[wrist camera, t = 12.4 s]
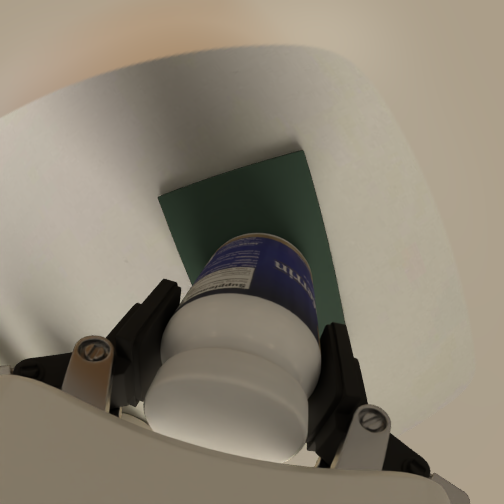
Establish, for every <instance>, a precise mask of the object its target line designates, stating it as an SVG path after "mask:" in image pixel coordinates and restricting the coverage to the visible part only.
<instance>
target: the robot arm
mask: <svg viewBox="0 0 504 504" xmlns="http://www.w3.org/2000/svg"><path fill="white" fill-rule="evenodd" d="M180 296H181V287H178V286H177V282H174V281H170V280H167V279H163V280H162V281H161V282H160V283H159V284H158V285H157V287H156V288H155V289H154V290H153V291H152V292H151V294H150V295H149V296H148V297H147V298H146V299H145V301H144V302H143V303H142V304H139V303H136V304H135V305H134V306H133V307H132V308H131V309H130V310H129V311H128V312H127V314H126V315H125V316H124V317H123V318H122V319H121V321H120V322H119V323H118V324H117V325H116V326H115V327H114V329H113V330H112V331H111V332H110V333H109V335H108V336H107V337H106V338H104V337H101V336H93V335H91V336H86V337H84V338H82V339H80V340H79V341H78V342H77V343H76V344H75V346H74V349H73V352H71V353H65V354H58V355H51V356H44V357H36V358H29V359H25V360H22V361H21V362H19V363H18V364H17V365H16V366H15V368H11V365H5V366H0V504H470V499H469V497H468V495H467V494H466V493H465V492H464V491H462V490H461V489H459V488H457V487H456V486H454V485H453V484H451V483H450V482H448V481H447V480H445V479H444V478H442V477H441V476H439V475H438V474H436V473H433V474H430V467H429V465H428V463H427V462H426V461H425V460H424V459H423V458H422V457H421V456H420V455H418V454H417V453H415V452H414V451H413V450H412V449H410V448H409V447H408V446H406V445H405V444H404V443H402V442H401V441H400V440H399V439H397V438H396V437H395V436H393V435H392V434H391V433H390V429H391V420H390V418H389V416H388V414H387V413H386V412H385V411H384V410H383V409H381V408H379V407H378V406H375V405H371V404H368V402H367V397H366V392H365V388H364V383H363V379H362V374H361V370H360V365H359V362H358V359H356V358H354V357H353V353H352V348H351V344H350V340H349V335H348V331H347V327H346V325H345V324H341V323H336V322H332V323H331V324H330V325H328V324H327V325H326V326H325V328H324V330H323V333H322V335H321V337H320V348H321V372H320V377H319V380H318V383H317V385H316V387H315V389H314V391H313V393H312V394H311V395H310V397H309V398H308V399H307V400H308V434H307V439H306V442H305V443H307V450H308V451H315V453H316V454H317V455H318V456H319V458H318V460H317V462H316V464H315V466H314V467H306V466H297V465H289V464H282V463H275V462H269V461H263V460H257V459H252V458H247V457H242V456H237V455H233V454H228V453H224V452H220V451H216V450H212V449H208V448H205V447H201V446H197V445H194V444H191V443H187V442H184V441H181V440H178V439H174V438H171V437H168V436H165V435H162V434H160V433H157V432H154V431H151V430H149V429H146V428H143V427H141V426H138V425H136V424H133V423H131V422H128V421H126V420H123V419H121V415H122V407H123V406H127V405H128V404H129V405H132V406H134V407H136V406H137V404H138V402H139V400H140V401H142V402H143V401H144V399H145V396H146V393H147V391H148V390H149V388H150V386H151V384H152V382H153V380H154V378H155V376H156V374H157V372H158V370H159V369H160V367H161V366H162V361H161V354H160V348H161V340H162V336H163V333H164V330H165V328H166V326H167V324H168V322H169V320H170V319H171V317H172V315H173V314H174V312H175V311H176V309H177V308H178V306H179V305H180Z"/></svg>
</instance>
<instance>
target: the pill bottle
mask: <svg viewBox="0 0 504 504" xmlns="http://www.w3.org/2000/svg"><path fill="white" fill-rule="evenodd" d="M160 354H161V361H162V366H161V367H160V369H159V370H158V372H157V374H156V376H155V378H154V380H153V382H152V384H151V386H150V388H149V390H148V391H147V393H146V396H145V399H144V404H143V405H144V414H145V417H146V420H147V422H148V424H149V425H150V427H151V428H152V430H153V431H154V432H157V433H160V434H162V435H165V436H168V437H171V438H174V439H178V440H181V441H184V442H187V443H191V444H194V445H197V446H201V447H205V448H208V449H212V450H216V451H220V452H224V453H228V454H233V455H237V456H242V457H247V458H252V459H257V460H263V461H269V462H275V463H283V462H285V461H288V460H289V459H291V458H292V457H294V456H295V455H296V454H297V453H298V452H299V451H300V450H301V449H302V447H303V446H304V444H305V442H306V439H307V434H308V400H307V399H308V398H309V397H310V395H311V394H312V393H313V391H314V389H315V387H316V385H317V383H318V380H319V377H320V372H321V348H320V339H319V329H318V320H317V312H316V303H315V295H314V287H313V280H312V275H311V270H310V267H309V265H308V263H307V261H306V259H305V258H304V256H303V255H302V254H301V252H300V251H299V250H298V249H297V248H296V247H295V246H293V245H292V244H291V243H289V242H288V241H286V240H285V239H283V238H280V237H278V236H275V235H271V234H266V233H249V234H243V235H240V236H237V237H235V238H233V239H231V240H229V241H227V242H226V243H225V244H223V245H222V246H221V247H220V248H219V249H218V250H217V251H216V252H215V253H214V255H213V256H212V257H211V259H210V260H209V262H208V263H207V264H206V266H205V267H204V269H203V270H202V272H201V273H200V275H199V276H198V278H197V279H196V281H195V282H194V284H193V285H192V287H191V288H190V290H189V291H188V293H187V294H186V296H185V297H184V299H183V300H182V302H181V303H180V305H179V306H178V308H177V309H176V311H175V312H174V314H173V315H172V317H171V319H170V320H169V322H168V324H167V326H166V328H165V330H164V333H163V336H162V340H161V348H160Z"/></svg>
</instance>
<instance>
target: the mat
mask: <svg viewBox="0 0 504 504" xmlns="http://www.w3.org/2000/svg"><path fill="white" fill-rule="evenodd" d="M158 199H159V202H160V205H161V208H162V210H163V213H164V216H165V218H166V221H167V224H168V226H169V229H170V232H171V234H172V237H173V239H174V242H175V244H176V247H177V250H178V252H179V255H180V257H181V260H182V262H183V264H184V267H185V269H186V272H187V274H188V277H189V279H190V281H191V284H192V285H193V284H194V282H195V281H196V279H197V278H198V276H199V275H200V273H201V272H202V270H203V269H204V267H205V266H206V264H207V263H208V262H209V260H210V259H211V257H212V256H213V255H214V253H215V252H216V251H217V250H218V249H219V248H220V247H221V246H222V245H223V244H225V243H226V242H227V241H229V240H231V239H233V238H235V237H237V236H240V235H243V234H249V233H266V234H271V235H275V236H278V237H280V238H283V239H285V240H286V241H288V242H289V243H291V244H292V245H293V246H295V247H296V248H297V249H298V250H299V251H300V252H301V254H302V255H303V256H304V258H305V259H306V261H307V263H308V265H309V267H310V270H311V275H312V280H313V287H314V295H315V303H316V312H317V320H318V329H319V339H320V337H321V335H322V333H323V330H324V328H325V326H326V325H327V324H328V325H330V324H331V323H332V322H336V323H341V324H345V321H344V315H343V310H342V304H341V299H340V294H339V289H338V284H337V280H336V275H335V270H334V265H333V261H332V256H331V252H330V248H329V243H328V239H327V235H326V231H325V227H324V223H323V219H322V215H321V211H320V207H319V203H318V199H317V196H316V192H315V188H314V185H313V181H312V177H311V174H310V170H309V167H308V163H307V160H306V157H305V153H304V151H303V150H300V151H297V152H293V153H289V154H286V155H282V156H279V157H275V158H272V159H268V160H265V161H261V162H258V163H255V164H251V165H248V166H245V167H242V168H238V169H235V170H232V171H229V172H226V173H223V174H220V175H217V176H214V177H211V178H208V179H205V180H202V181H199V182H196V183H193V184H191V185H188V186H185V187H182V188H180V189H177V190H174V191H171V192H169V193H166V194H163V195H161V196H159V197H158Z"/></svg>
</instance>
